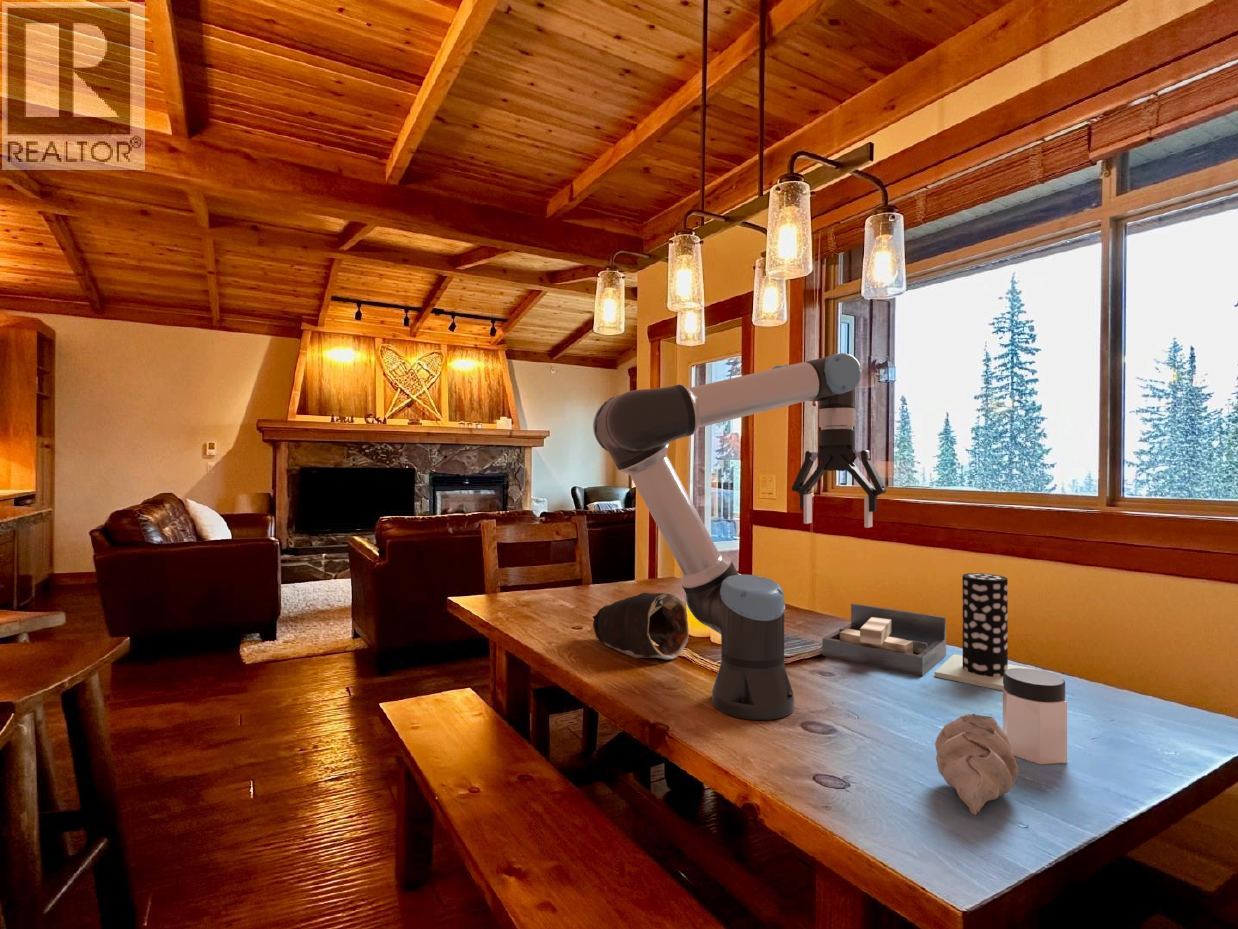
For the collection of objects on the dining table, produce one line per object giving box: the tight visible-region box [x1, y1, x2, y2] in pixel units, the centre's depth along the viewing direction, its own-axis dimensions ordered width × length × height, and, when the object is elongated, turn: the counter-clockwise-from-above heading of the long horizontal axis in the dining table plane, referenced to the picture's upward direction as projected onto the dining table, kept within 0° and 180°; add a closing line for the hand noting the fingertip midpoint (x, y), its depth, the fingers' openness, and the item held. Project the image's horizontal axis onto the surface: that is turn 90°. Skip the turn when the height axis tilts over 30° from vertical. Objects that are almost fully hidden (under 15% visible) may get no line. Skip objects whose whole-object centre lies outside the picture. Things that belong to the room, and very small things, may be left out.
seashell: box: [934, 713, 1019, 816], centre depth 86 cm, size 10×15×10 cm
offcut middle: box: [840, 629, 913, 654], centre depth 143 cm, size 15×4×3 cm, turn 44°
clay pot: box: [591, 592, 690, 660], centre depth 153 cm, size 15×15×25 cm
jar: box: [1002, 668, 1068, 765], centre depth 98 cm, size 9×8×12 cm
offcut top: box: [860, 617, 891, 645], centre depth 143 cm, size 12×4×3 cm, turn 147°
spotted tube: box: [961, 572, 1009, 677], centre depth 133 cm, size 8×8×20 cm
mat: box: [934, 653, 1037, 692], centre depth 133 cm, size 16×16×1 cm
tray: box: [821, 602, 947, 677], centre depth 147 cm, size 22×19×9 cm
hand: (837, 525), depth 138 cm, fingers open, 13 cm apart
